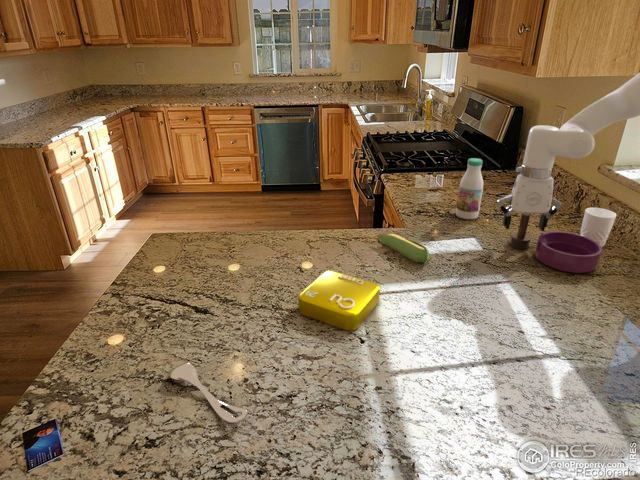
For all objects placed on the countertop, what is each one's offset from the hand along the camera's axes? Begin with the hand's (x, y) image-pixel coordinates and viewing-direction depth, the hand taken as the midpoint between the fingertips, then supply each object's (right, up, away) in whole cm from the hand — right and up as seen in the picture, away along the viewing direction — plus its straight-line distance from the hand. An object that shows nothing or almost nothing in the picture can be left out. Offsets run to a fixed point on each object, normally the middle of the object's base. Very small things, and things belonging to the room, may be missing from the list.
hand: (523, 228), depth 125 cm
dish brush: (0, -5, +3) cm, 6 cm away
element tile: (-55, -19, -25) cm, 64 cm away
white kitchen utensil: (-80, -31, -50) cm, 99 cm away
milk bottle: (-9, +5, +24) cm, 26 cm away
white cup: (+22, -5, +4) cm, 23 cm away
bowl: (+9, -9, -6) cm, 14 cm away
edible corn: (-36, -7, -1) cm, 37 cm away
